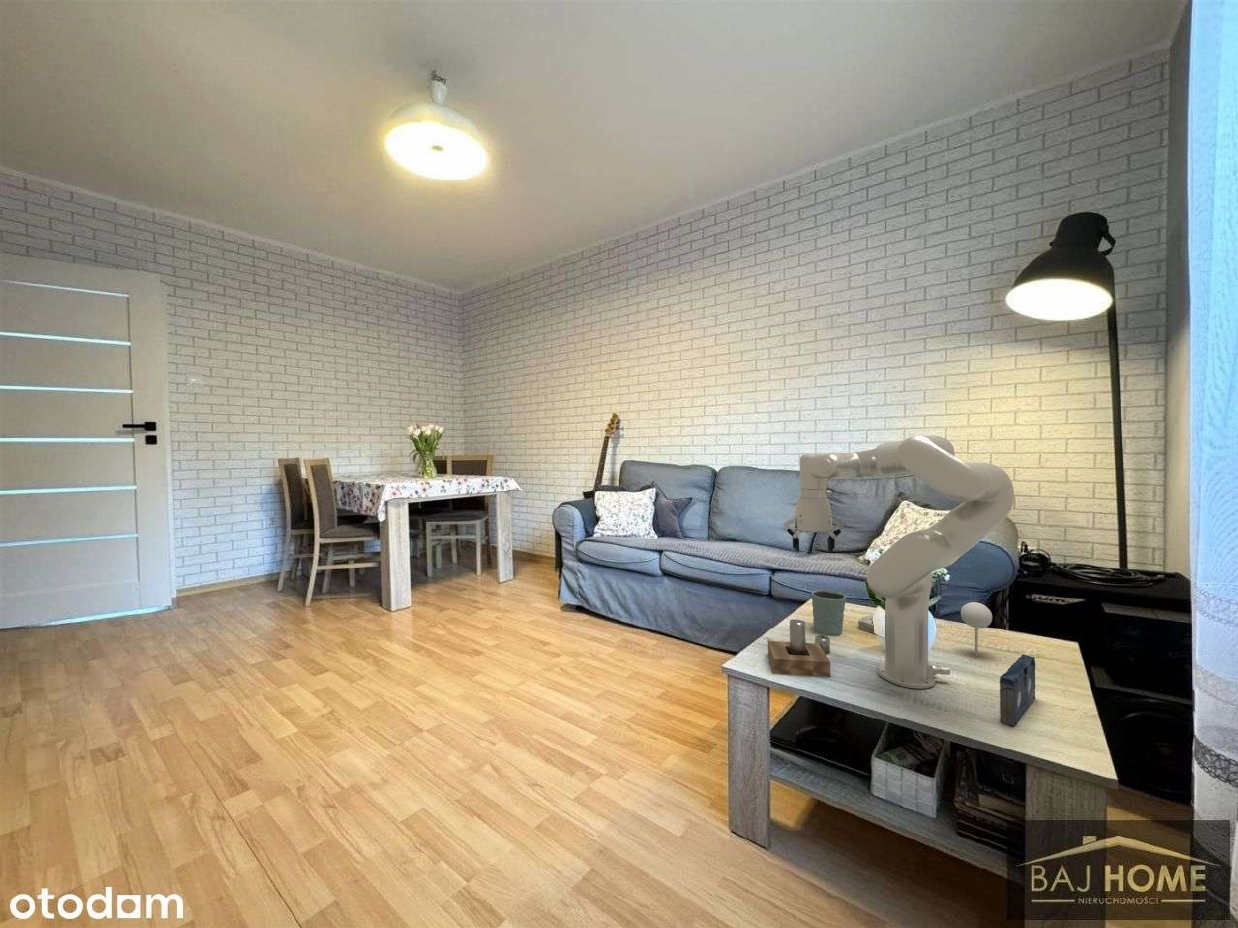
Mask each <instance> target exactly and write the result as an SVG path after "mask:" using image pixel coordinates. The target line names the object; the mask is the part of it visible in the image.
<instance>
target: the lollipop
mask: <svg viewBox="0 0 1238 928" xmlns="http://www.w3.org/2000/svg"><path fill="white" fill-rule="evenodd" d="M960 616H961V619H962V621H963V622H964V623H965V624H966V625H967V626H969V627H970V628H974V656H976V657H977V656H979V653H978V652H979V648H978V647H979V645H978V644H979V639H978V638H979V631H978V630H979V629H985V628H988V627H989V626H990V625H991V623H992V621H993V614H992V611H991V610H990V609H989V608H988V606H986V605H985V604H983V603H980V602H976V601H972V602H967V603H966V604H964V605H963V606H962V607H961V610H960Z"/></svg>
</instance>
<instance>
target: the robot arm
mask: <svg viewBox="0 0 1238 928" xmlns="http://www.w3.org/2000/svg"><path fill="white" fill-rule="evenodd" d="M901 474H911V475H913V476H915V477H916V479H919V480H920V481H921V482H923V483H925V484H926V485H928V486H929V487H930V488H932V489H933V490H935V491H936V492H938V493H939V494H941V495H942V496H944V497H946V498H948V499H949V500H952V501H955V502H960V503H959V504H958V505H957V506H955V507H954V508H953V509H951V510H950V511H949V512H947V513H946V515H944V516H943V517H942V518H941V519H940V520H939V521H937V522H935V523H934V525H932V526H931V527H928V528H925V529H921V530H917V531H913V532H910V533H906V534H905V535H903V536H902V537H901V538H899V539H898V540H897V541H896V542H895V543H893V544H892V545H891V546H890V547H889V548H887V550H886V551H884V552H883V553H882V554H881V555H880V556H879V557H877V558H876V559H875V560H874V561H873V562H872V563H871V564H870V566H869V567H868V570H867V572H866V573H867V574H866V581H867V584H868V587H869V588H870V590H871V592H873V593H874V594H876V595H877V596H878V597H881V598H884V599H885V603H884V618H885V637H884V662H883V663H881V664H880V665H879V666H878V670H877V672H878V674H879V676H880V677H882V679H884V680H885V681H888V682H889V683H892V684H894V685H898V686H900V687H905V688H909V689H918V690H919V689H922V690H923V689H930V688H932V687H934V686H936V677H935V676H937V675H946V676H950V675H951V669H950V667H949V666H943V665H942V666H940V664H939V663H938V662H929V608H930V607H929V605H930V604H929V603H930V595H931V591H932V590H931V589H932V584H933V583H932V582H933V574H932V573H933V572H935V571H938V570H942V569H945V568H947V567H949V566H952V565H953V564H954V563H955V562H956V561H957V560H959V558H960V557H962V556H963V555H965V554H966V553H967V552H968V551H970V550H971V549H972V548H973V547H975V546H976V545H977V544H978V543H980V541H982V540H983V539H984V538H985V537H987V536H988V535H989V534H990V533H991V532H993V531H995V529H997V527H999V526H1000V525H1001V523H1002V522H1004V521H1005V519H1006V518H1007V517H1008V515H1009V513H1010V511H1011V510H1012V507H1013V505H1014V502H1015V501H1014V500H1015V489H1014V486H1013V482H1012V480H1011V478H1010V477H1009V475H1008V474H1007V472H1006V471H1005V470H1003V469H1002V468H1001V467H999V466H998V465H995V464H991V463H986V462H970V463H969V462H968V463H967V462H965V461H963V460H961V459H960V458H958V457H956V456H955V448H954V446H953V444H952V443H951V442H950V441H949V440H948V439H947V438H946V437H943V436H940V435H932V434H931V435H928V434H927V435H924V434H923V435H920V434H919V435H912V436H909V437H907V438H905V439H903V440H896V441H891V442H885V443H884V442H883V443H880V444H878V445H877V446H876V447H875V448H873V449H872V448H871V449H868V450H867V449H866V450H862V451H852V452H836V453H835V452H834V453H833V452H830V453H824V454H821V453H804V454H802V455H801V456H799V498H796V503H795V509H794V510H795V511H794V517H793V518H791V519H789V520H787V521H785V522H783V523H782V525H783V527H784V528H785V530H786V532H787V533H788V534H789V535H790V536H791V538H792V548H793V549H794V551H796V552H800V538H799V536H800V534H801V533H826V534H827V535H828V537H827V551H829V552H830V553H833V552H834V549H835V546H836V545H835V543H836V542H835V540H836V538H838V536H839V535H840V534H841V533H842V531H843V528H844V527H845V524H844V523H843V522H841V521H839V520H836V519H834V518H833V516H832V510H831V502H830V498H829V499H828V496H832V495H833V493H832V490H829V489H827V486H828V484H827V480H840V479H853V478H854V479H855V478H863V477H871V476H872V477H873V476H883V477H884V476H885V477H886V476H893V475H901ZM791 525H794V531H793V530H792V529H791V527H790V526H791ZM833 525H836V528H835V529H834V530H833ZM832 530H833V531H832Z"/></svg>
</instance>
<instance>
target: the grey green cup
mask: <svg viewBox="0 0 1238 928" xmlns="http://www.w3.org/2000/svg"><path fill="white" fill-rule="evenodd" d="M846 599H847V596H846V595H845V594H843V593H841V592H839V591H834V590H833V591H832V590H828V589H827V590H825V589H823V590H822V589H818V590H813V591H811V600H812V601H811V605H812V616H813V617H812V618H813V619H812V621H813V623H812V624H813V630H814V632H816V633H817V634H819V635H820V634H821V635H822V636H828V637H830V636H831V637H836V636H837V637H838V636H840V635H842V633H843V628H844V626H843V625H844V623H843V622H844V618H845V617H844V616H845V614H844V613H845V607H846V601H847V600H846Z"/></svg>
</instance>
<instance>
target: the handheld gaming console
mask: <svg viewBox="0 0 1238 928" xmlns="http://www.w3.org/2000/svg"><path fill="white" fill-rule="evenodd" d="M873 615H874V614H869V615H867V616H864V617H862V618H860V619H858V621H857V623H858V628H859V629H860V630H862V631H865V632H868V633H870V634H874V624H873Z"/></svg>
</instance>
